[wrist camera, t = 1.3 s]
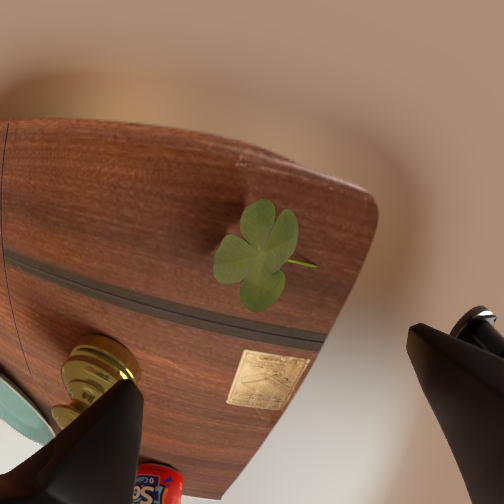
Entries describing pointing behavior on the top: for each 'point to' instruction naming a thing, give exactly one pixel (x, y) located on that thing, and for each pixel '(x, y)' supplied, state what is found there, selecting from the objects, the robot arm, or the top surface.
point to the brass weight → (93, 374)
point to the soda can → (157, 485)
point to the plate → (22, 413)
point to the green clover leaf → (258, 254)
